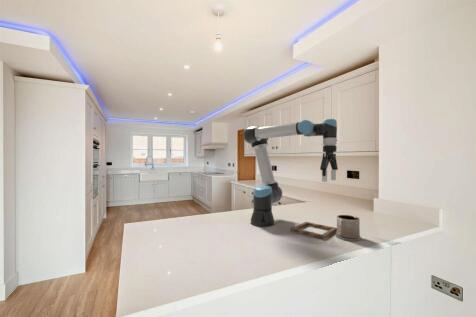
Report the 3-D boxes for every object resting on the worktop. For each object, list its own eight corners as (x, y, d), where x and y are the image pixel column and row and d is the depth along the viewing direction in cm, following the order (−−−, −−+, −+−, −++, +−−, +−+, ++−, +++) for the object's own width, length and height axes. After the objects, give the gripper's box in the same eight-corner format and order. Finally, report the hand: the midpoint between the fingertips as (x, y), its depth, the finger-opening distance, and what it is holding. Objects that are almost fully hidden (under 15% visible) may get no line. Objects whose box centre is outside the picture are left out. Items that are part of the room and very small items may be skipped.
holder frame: (290, 231, 125) (290, 228, 125) (305, 224, 139) (305, 221, 139) (324, 239, 112) (324, 236, 112) (337, 231, 126) (337, 228, 126)
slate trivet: (332, 237, 116) (332, 235, 116) (339, 231, 125) (339, 230, 125) (357, 243, 108) (357, 241, 108) (363, 237, 117) (363, 235, 117)
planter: (335, 236, 114) (335, 218, 114) (337, 231, 124) (337, 213, 124) (359, 240, 109) (359, 221, 109) (359, 234, 118) (359, 216, 119)
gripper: (327, 143, 120) (327, 182, 120) (343, 146, 139) (342, 180, 139) (314, 144, 126) (313, 181, 126) (331, 146, 144) (330, 179, 144)
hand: (329, 180), depth 132 cm, fingers open, 13 cm apart
